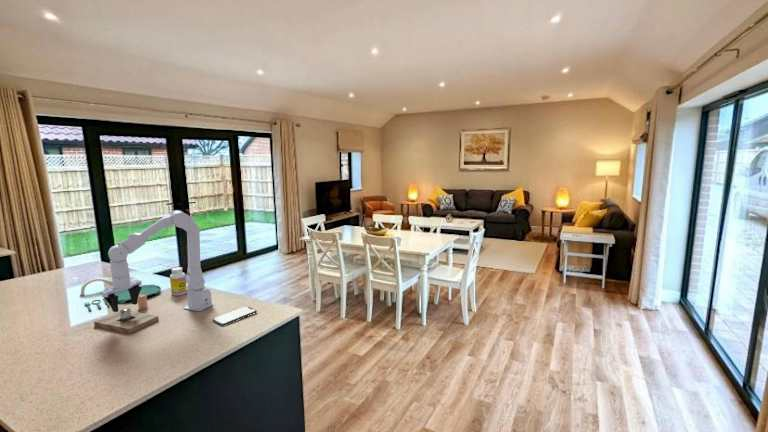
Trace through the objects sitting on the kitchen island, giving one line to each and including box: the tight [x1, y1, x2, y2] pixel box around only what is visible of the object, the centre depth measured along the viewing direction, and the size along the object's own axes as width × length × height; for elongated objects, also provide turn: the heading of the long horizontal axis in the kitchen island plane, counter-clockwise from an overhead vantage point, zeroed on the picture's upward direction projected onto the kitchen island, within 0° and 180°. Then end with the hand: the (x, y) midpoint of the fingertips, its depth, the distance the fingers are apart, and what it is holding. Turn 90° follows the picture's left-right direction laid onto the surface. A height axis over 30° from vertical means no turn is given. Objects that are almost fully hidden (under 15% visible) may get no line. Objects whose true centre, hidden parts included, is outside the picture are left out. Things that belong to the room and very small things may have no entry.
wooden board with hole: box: [93, 310, 160, 335], centre depth 147 cm, size 20×12×2 cm, turn 71°
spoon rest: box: [80, 276, 138, 296], centre depth 187 cm, size 24×12×7 cm, turn 130°
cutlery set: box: [84, 284, 162, 313], centre depth 175 cm, size 20×30×2 cm, turn 135°
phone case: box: [212, 305, 257, 327], centre depth 152 cm, size 9×2×16 cm
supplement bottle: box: [169, 266, 187, 297], centre depth 179 cm, size 7×7×13 cm
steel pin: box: [119, 307, 131, 322], centre depth 147 cm, size 4×4×6 cm
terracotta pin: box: [137, 294, 149, 311], centre depth 162 cm, size 4×4×6 cm
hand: (125, 307), depth 146 cm, fingers open, 7 cm apart
